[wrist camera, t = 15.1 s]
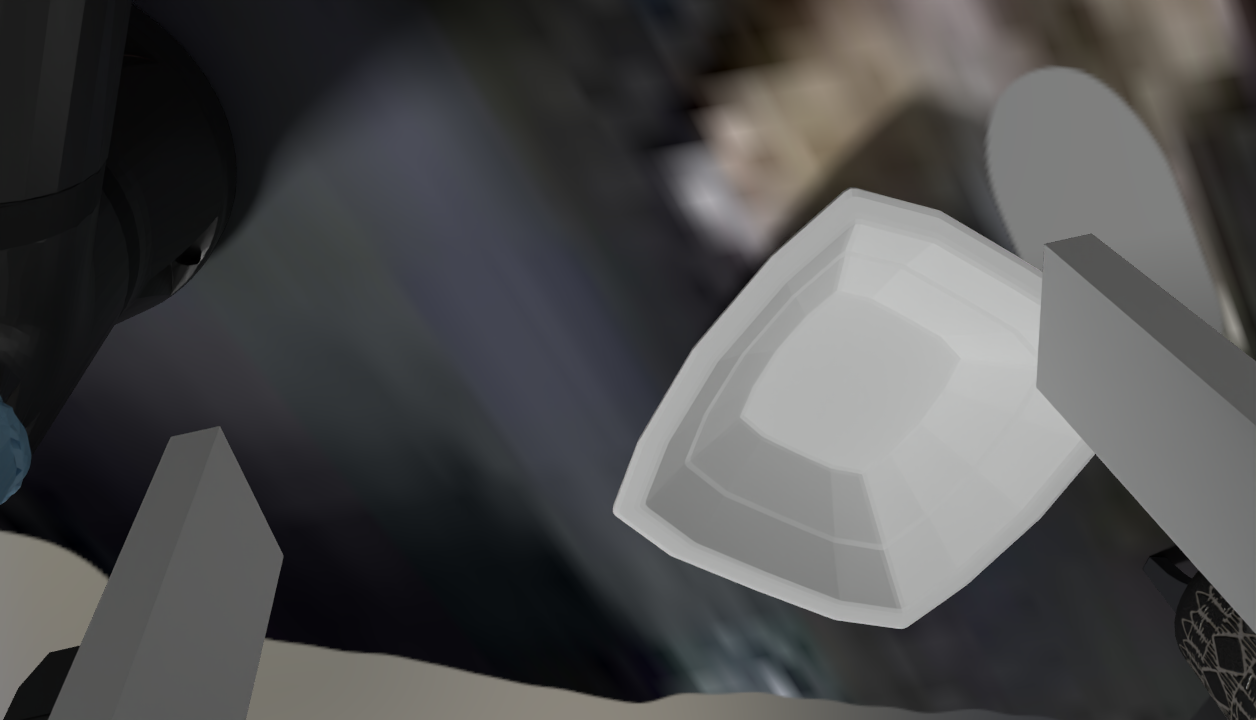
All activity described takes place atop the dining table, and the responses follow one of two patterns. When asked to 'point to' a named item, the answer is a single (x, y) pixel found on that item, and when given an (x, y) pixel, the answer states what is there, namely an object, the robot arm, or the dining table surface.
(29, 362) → the robot arm
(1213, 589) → the planter
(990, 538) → the bowl
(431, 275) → the dining table surface
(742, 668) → the dining table surface
